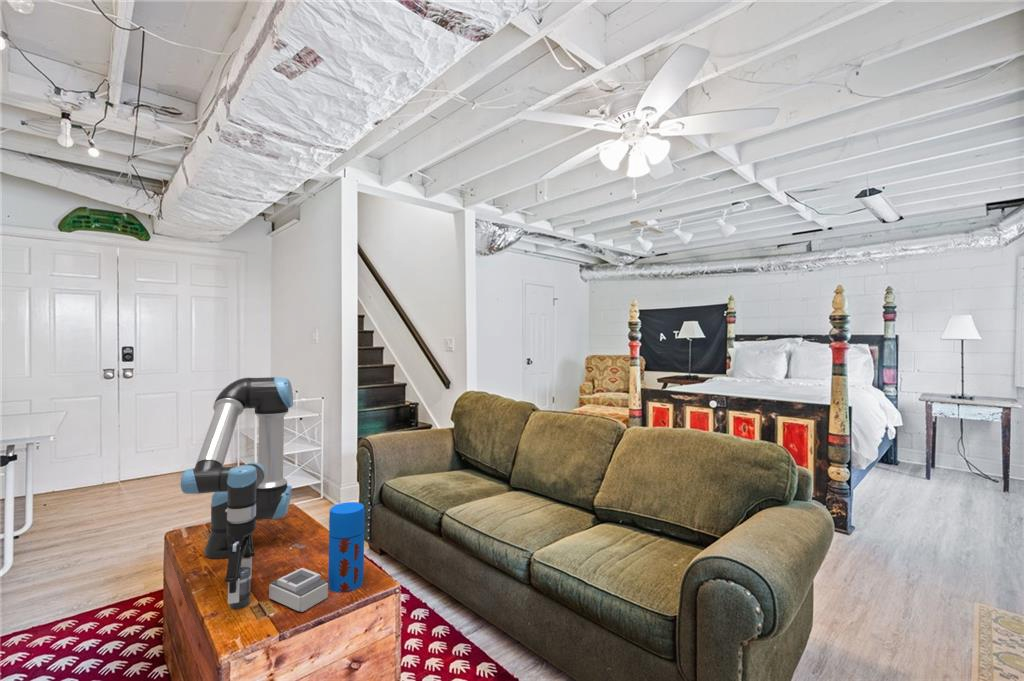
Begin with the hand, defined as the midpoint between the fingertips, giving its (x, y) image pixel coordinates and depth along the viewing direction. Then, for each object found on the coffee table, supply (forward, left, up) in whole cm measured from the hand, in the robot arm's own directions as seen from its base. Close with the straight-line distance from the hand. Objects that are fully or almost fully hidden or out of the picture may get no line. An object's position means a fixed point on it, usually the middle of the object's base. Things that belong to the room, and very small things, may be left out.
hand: (240, 590), depth 138 cm
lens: (0, 0, -4) cm, 4 cm away
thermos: (+18, +24, -5) cm, 30 cm away
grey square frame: (+12, +11, -4) cm, 17 cm away
